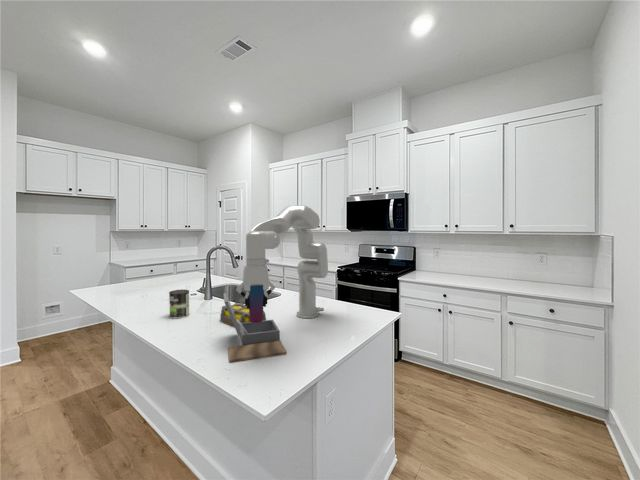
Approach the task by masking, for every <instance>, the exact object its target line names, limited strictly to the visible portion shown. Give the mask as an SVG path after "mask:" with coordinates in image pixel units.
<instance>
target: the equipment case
mask: <svg viewBox="0 0 640 480" xmlns="http://www.w3.org/2000/svg"><path fill="white" fill-rule="evenodd" d="M236 321H237V322H238V324H239V325H240V332H241V335H240V336H239V337H240V341H241V346H243V345H250V344H257V343H265V342H272V341H279V340H280V337H281V333H280V329H279V327H278V326H277V324H276V322H275V320H274V319H266V320H264V321H262V322H259V323H252V322H246V323H240V322H239V320H238V319H237V320H236ZM280 341H281V340H280Z"/></svg>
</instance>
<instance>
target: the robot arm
mask: <svg viewBox="0 0 640 480" xmlns="http://www.w3.org/2000/svg"><path fill="white" fill-rule="evenodd" d="M320 221H321V220H320V215H319V214H318V213H317V212H315V210H313V208H311V207H309V206H307V205H288V206H286V207H284V208H283V209H282V210H281V211H280V212H279V213H278V214H277V215H276V216H275V217H274V218H273V217H272V218H270V219H268V220H265V221H263V222H260V223H258V224H257V225H255V226H254V227H253V228H252V229H250V231H249V232H247V233H246V236H245V245H246V246H245V252H246V253H245V254H246V255H245V258H246V259H245V265H244V267H243V272H242V273H243V274H242V282H241V283H240V284H239V286H238V287H236V289H235V291H236V292H237V293H239V294H240V295H241V296H242V297H243V299H244V305H245V306H247V309H249V298H248V296H249V291H250V286H260V285H263V290H264V304H263V308H265V307H267V305H268V297H269V296H270V295H271V294H272V292H273V291H274V290H276V286H275V285H274V284H273V283H272V282H271V281H270V278H269V269H268V265H267V264H268V263H269V262H270V260H269V259H268V258H266V250H273V249H276V248H278V246H279V245H280V243H281V237H280V235H282V234H284V233H287V232H288V231H289V230H290V228H292V229H293V230H294V231H295V233H296V235H297V244H298V245H297V246H298V254H299V257H300V258H301V259H305V260H301V261H299V262H298V264H297V275H298V288H299V289H298V290H299V291H298V295H299V296H298V299H299V300H298V302H299V303H298V307H299V309H298V310H299V311H297V312H296V317H298V318H301V319H314V318H316V317H318V316H319V312H324V311H325V308H324V307H319V306H318V307H317V305H316V304H317V302H316V299H317V296H316V295H317V294H316V293H317V291H316V289H317V285H316V282H315V280H314V279H325V278H326V277H327V276H328V273H329V261H328V249H327V246H326V244H325V243H324V242H320V241H316V242H315V240H314V235H313V231H312V230H316V229H317V228H319V226H320V223H321V222H320ZM306 259H307V260H306ZM269 264H270V263H269Z"/></svg>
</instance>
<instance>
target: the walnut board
mask: <svg viewBox="0 0 640 480" xmlns="http://www.w3.org/2000/svg"><path fill="white" fill-rule="evenodd" d="M227 354H228V363H230V364H231V363H237V362H244V361H250V360H256V359H262V358H269V357H270V358H271V357H275V356H276V357H277V356H283V355H287V349H286V348H285V347H284V345H283V343H282V341H281V340H279V341H272V342H265V343H257V344H250V345H243V346H242V345H237V346H230V347H229V346H228V347H227Z"/></svg>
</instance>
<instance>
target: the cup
mask: <svg viewBox="0 0 640 480" xmlns="http://www.w3.org/2000/svg"><path fill="white" fill-rule="evenodd" d="M248 298H249V314H250V322H252V323H259V322H262V321H263V310H264V306H263V304H264V290H263V285H260V286H250V291H249V296H248Z"/></svg>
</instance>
